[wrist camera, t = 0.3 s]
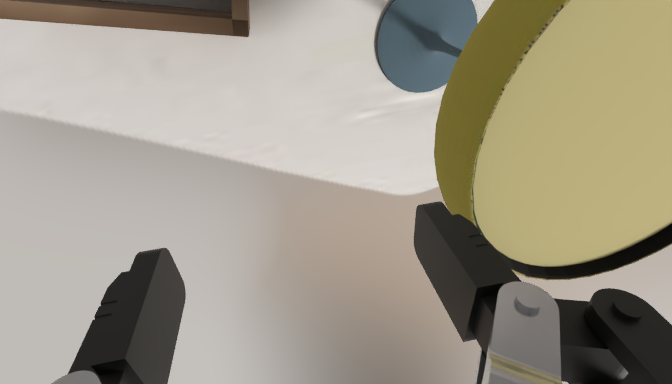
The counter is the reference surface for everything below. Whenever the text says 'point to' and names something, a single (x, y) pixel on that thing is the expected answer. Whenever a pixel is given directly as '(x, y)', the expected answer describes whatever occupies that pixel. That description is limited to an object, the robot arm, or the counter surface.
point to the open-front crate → (131, 15)
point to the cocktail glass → (547, 123)
